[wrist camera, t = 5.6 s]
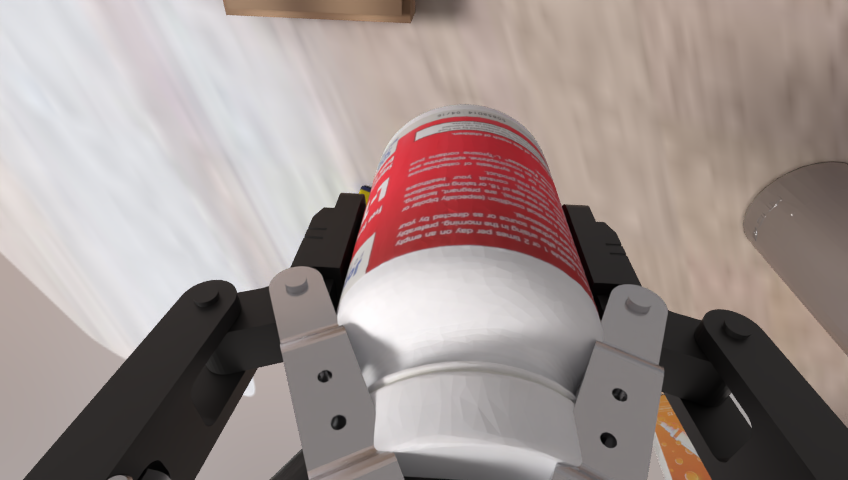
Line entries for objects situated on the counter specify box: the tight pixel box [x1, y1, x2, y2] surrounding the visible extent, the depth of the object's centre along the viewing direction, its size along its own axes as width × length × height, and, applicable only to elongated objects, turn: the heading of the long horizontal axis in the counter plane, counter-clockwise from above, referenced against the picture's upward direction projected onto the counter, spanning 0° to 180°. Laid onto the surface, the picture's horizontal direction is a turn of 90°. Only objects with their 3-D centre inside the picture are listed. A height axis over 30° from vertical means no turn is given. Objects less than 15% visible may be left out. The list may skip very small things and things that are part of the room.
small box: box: [653, 395, 712, 480], centre depth 51 cm, size 8×6×13 cm
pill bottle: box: [336, 104, 603, 480], centre depth 12 cm, size 6×6×11 cm
